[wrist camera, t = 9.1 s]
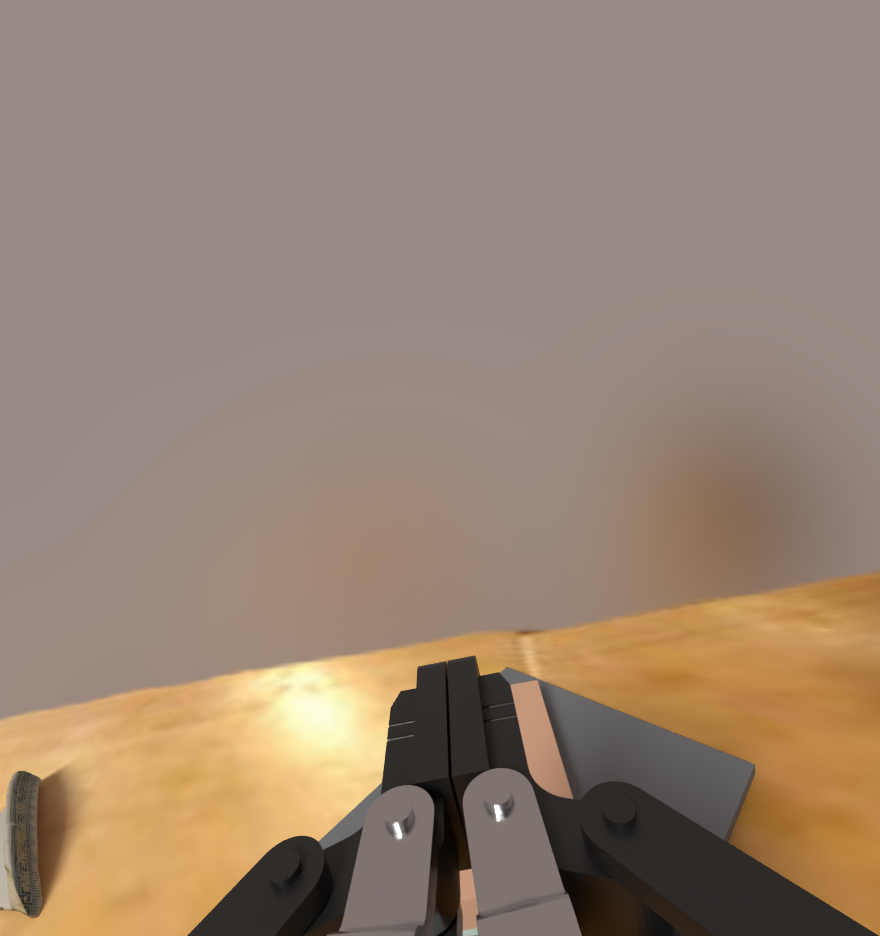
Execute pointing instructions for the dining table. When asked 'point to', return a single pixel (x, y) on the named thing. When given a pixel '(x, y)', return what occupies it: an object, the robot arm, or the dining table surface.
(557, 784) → the tile
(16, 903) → the ceramic fragment
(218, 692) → the dining table surface
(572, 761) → the mat
